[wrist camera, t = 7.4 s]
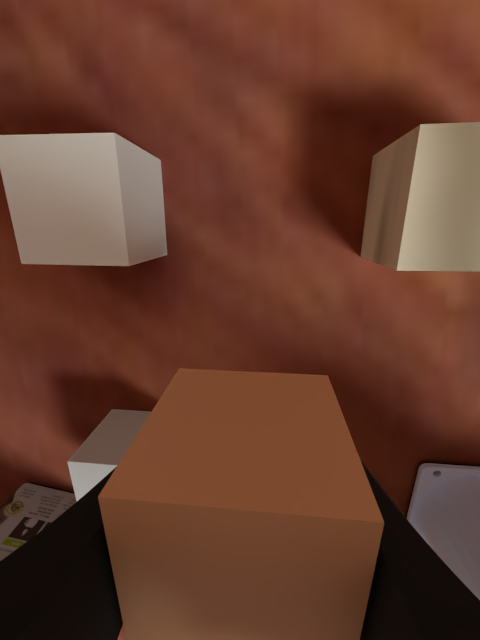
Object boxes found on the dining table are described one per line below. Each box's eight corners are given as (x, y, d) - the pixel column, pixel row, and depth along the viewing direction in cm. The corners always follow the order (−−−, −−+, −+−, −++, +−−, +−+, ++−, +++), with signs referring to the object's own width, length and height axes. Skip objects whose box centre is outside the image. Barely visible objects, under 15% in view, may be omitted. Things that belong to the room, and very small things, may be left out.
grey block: (179, 412, 21) (153, 468, 16) (183, 468, 22) (160, 534, 18) (112, 408, 21) (67, 461, 16) (121, 463, 23) (82, 526, 18)
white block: (161, 160, 16) (114, 132, 11) (167, 255, 17) (129, 266, 13) (73, 161, 16) (-8, 135, 11) (87, 253, 18) (21, 263, 13)
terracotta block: (327, 375, 10) (384, 522, 5) (315, 492, 11) (348, 689, 6) (178, 368, 10) (97, 496, 5) (187, 481, 12) (130, 658, 7)
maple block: (478, 153, 14) (582, 118, 10) (455, 257, 16) (534, 271, 11) (372, 156, 15) (420, 124, 10) (360, 256, 16) (396, 270, 12)
